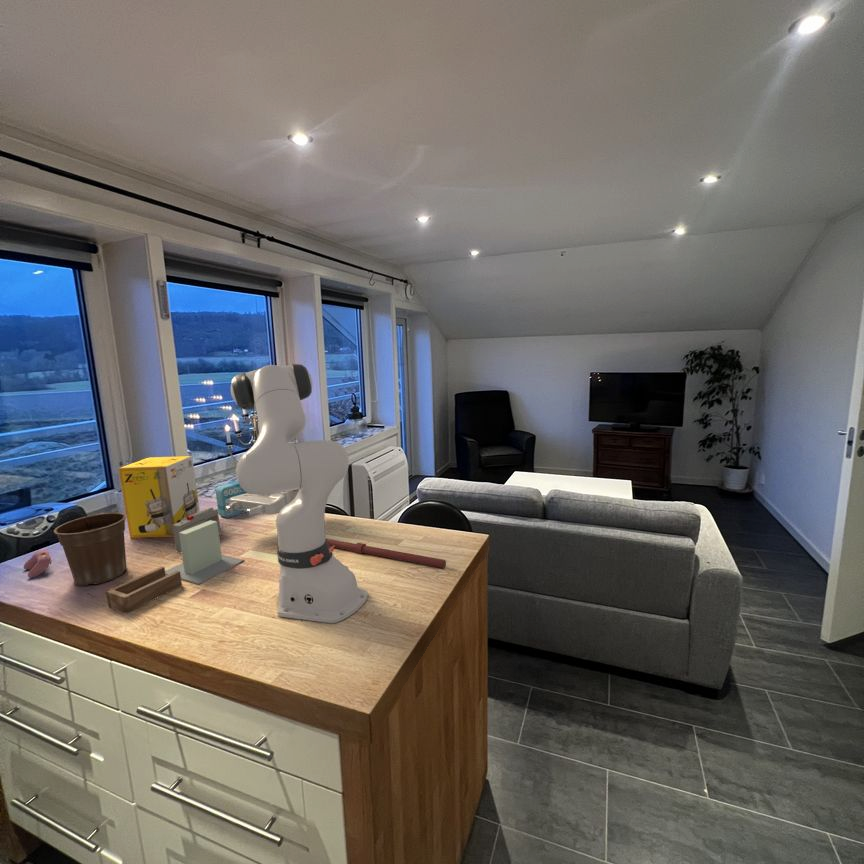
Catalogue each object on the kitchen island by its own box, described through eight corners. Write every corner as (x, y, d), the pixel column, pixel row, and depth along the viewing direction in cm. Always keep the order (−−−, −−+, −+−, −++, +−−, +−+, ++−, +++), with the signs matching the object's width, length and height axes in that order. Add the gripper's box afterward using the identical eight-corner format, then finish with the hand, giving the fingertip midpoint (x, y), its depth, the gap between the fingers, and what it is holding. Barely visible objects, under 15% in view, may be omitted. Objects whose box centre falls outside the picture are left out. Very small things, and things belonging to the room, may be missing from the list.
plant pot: (50, 585, 124) (39, 530, 121) (109, 560, 139) (100, 510, 136) (90, 594, 118) (79, 536, 115) (147, 566, 133) (139, 514, 130)
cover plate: (222, 559, 135) (217, 521, 133) (191, 574, 126) (185, 534, 124) (215, 557, 136) (210, 520, 134) (184, 572, 127) (178, 532, 125)
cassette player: (182, 553, 142) (178, 522, 140) (176, 552, 143) (171, 522, 141) (220, 533, 156) (217, 506, 154) (214, 533, 157) (211, 505, 155)
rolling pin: (314, 547, 143) (313, 537, 142) (320, 543, 146) (319, 533, 145) (442, 571, 123) (442, 561, 123) (447, 566, 126) (446, 556, 125)
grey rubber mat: (244, 561, 134) (244, 559, 134) (198, 584, 121) (198, 583, 121) (207, 552, 141) (207, 551, 141) (161, 573, 128) (161, 572, 128)
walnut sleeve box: (182, 585, 121) (180, 571, 120) (127, 613, 108) (124, 597, 108) (163, 579, 124) (161, 566, 124) (108, 606, 112) (105, 591, 111)
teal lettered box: (224, 519, 171) (221, 488, 169) (218, 517, 173) (214, 487, 171) (253, 509, 180) (250, 480, 178) (246, 507, 183) (243, 479, 181)
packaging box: (176, 536, 155) (166, 466, 151) (130, 538, 155) (118, 468, 151) (200, 519, 171) (192, 455, 167) (158, 521, 171) (149, 457, 167)
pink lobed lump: (46, 579, 131) (56, 555, 132) (26, 578, 127) (36, 554, 129) (40, 569, 137) (50, 547, 139) (21, 568, 134) (31, 545, 135)
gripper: (248, 486, 157) (213, 498, 145) (292, 491, 148) (259, 504, 135) (250, 504, 158) (216, 517, 146) (294, 510, 149) (261, 524, 136)
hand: (237, 511), depth 140 cm, fingers open, 8 cm apart
